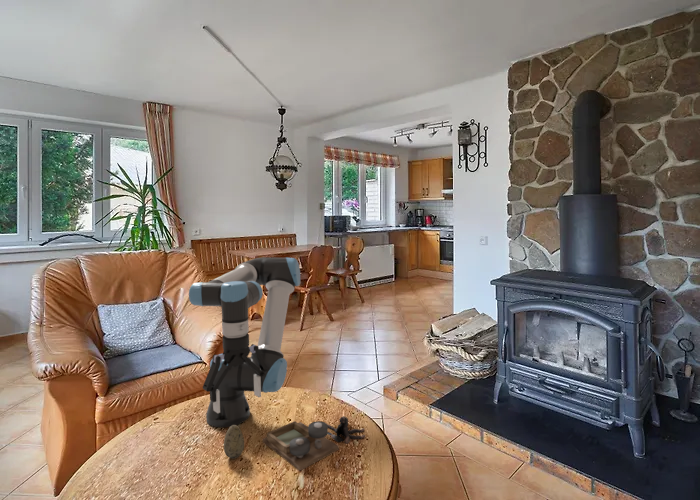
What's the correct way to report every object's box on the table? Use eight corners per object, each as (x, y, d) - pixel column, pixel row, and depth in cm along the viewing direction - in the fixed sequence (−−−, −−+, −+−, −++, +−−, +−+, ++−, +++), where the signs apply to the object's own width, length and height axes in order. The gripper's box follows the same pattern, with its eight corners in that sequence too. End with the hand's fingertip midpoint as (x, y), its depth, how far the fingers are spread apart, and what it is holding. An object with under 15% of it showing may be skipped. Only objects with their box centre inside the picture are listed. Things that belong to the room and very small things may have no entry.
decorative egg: (224, 465, 116) (223, 432, 115) (223, 453, 121) (222, 422, 121) (245, 460, 118) (244, 428, 117) (243, 449, 124) (242, 418, 123)
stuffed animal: (364, 442, 126) (333, 419, 127) (347, 464, 127) (317, 442, 128) (368, 423, 137) (340, 402, 138) (352, 443, 139) (324, 423, 140)
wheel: (304, 432, 123) (304, 424, 122) (319, 425, 127) (319, 417, 126) (316, 440, 118) (316, 431, 118) (331, 433, 122) (331, 424, 122)
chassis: (262, 442, 128) (262, 424, 127) (300, 425, 138) (300, 408, 137) (299, 470, 113) (299, 450, 113) (338, 449, 123) (338, 431, 123)
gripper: (200, 347, 105) (203, 423, 107) (278, 327, 123) (279, 393, 125) (188, 341, 110) (191, 413, 112) (264, 323, 128) (266, 386, 130)
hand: (237, 403), depth 119 cm, fingers open, 13 cm apart
